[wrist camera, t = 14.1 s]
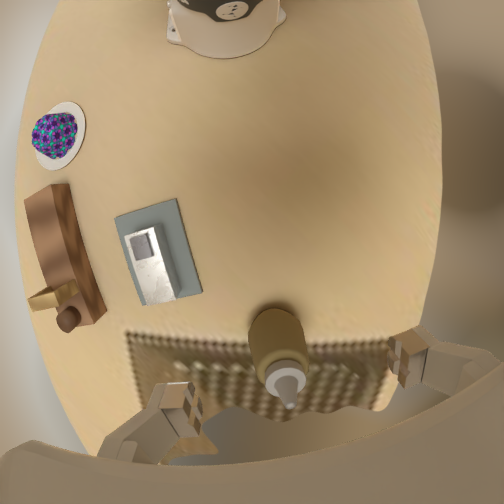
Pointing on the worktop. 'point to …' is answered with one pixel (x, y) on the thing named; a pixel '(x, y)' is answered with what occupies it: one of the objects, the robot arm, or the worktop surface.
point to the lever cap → (153, 264)
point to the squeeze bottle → (279, 354)
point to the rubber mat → (175, 238)
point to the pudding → (58, 135)
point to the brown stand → (62, 260)
